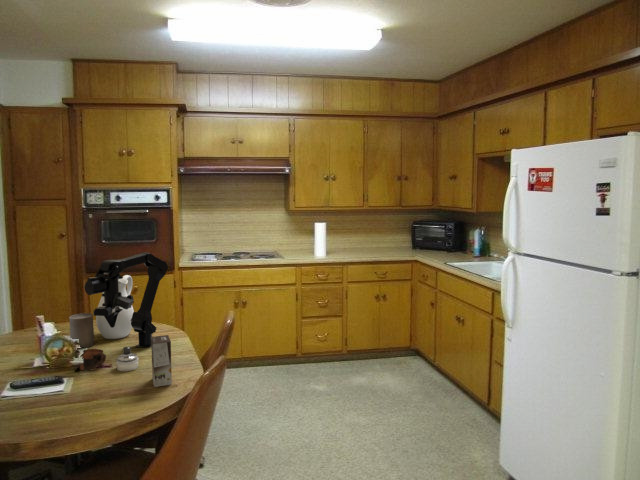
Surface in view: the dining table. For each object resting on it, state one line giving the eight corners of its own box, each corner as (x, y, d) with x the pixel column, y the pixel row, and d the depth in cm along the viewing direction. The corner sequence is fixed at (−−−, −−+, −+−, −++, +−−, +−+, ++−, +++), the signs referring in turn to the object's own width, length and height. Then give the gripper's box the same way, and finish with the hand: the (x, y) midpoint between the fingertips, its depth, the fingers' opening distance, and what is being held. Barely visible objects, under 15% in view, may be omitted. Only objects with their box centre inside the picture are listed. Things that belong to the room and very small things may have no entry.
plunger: (123, 354, 198) (122, 344, 197) (140, 355, 197) (139, 345, 196) (114, 360, 190) (113, 350, 190) (131, 361, 190) (131, 350, 189)
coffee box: (172, 384, 178) (171, 341, 176) (153, 387, 175) (152, 343, 173) (169, 375, 186) (168, 334, 184) (151, 378, 184) (150, 336, 182)
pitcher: (122, 342, 226) (120, 282, 223) (88, 339, 229) (86, 281, 226) (148, 327, 249) (147, 273, 246) (118, 325, 252) (116, 272, 249)
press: (125, 361, 201) (125, 353, 201) (145, 362, 200) (144, 353, 200) (112, 371, 190) (112, 362, 190) (132, 371, 190) (132, 363, 189)
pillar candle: (99, 342, 225) (97, 310, 223) (85, 349, 215) (83, 316, 214) (79, 341, 226) (78, 309, 225) (65, 348, 217) (63, 315, 215)
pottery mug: (72, 371, 191) (75, 350, 195) (91, 374, 199) (94, 353, 203) (96, 367, 187) (98, 345, 191) (114, 370, 195) (116, 349, 199)
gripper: (118, 296, 194) (120, 334, 196) (140, 286, 213) (141, 321, 214) (91, 295, 195) (93, 333, 197) (115, 286, 214) (116, 321, 215)
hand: (112, 327), depth 206 cm, fingers closed
